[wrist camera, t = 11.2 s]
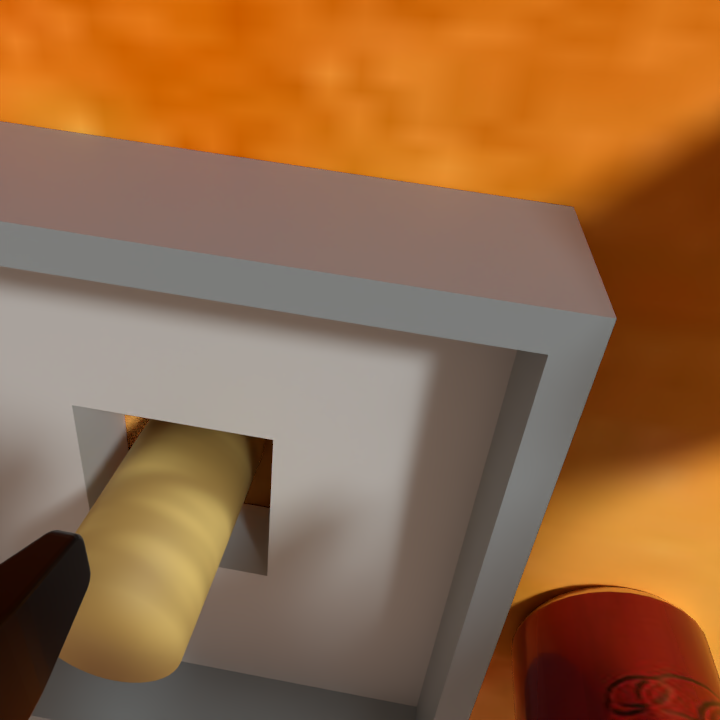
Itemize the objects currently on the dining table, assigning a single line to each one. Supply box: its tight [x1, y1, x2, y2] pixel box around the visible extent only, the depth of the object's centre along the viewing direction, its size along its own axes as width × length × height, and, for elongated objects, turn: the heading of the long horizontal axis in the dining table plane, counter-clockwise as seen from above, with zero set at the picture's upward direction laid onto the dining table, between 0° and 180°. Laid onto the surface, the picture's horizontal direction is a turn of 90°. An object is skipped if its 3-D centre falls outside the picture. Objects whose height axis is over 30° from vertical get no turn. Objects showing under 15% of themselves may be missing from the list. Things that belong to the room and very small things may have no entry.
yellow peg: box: [59, 419, 265, 683], centre depth 20 cm, size 4×4×8 cm
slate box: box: [0, 121, 617, 720], centre depth 21 cm, size 20×20×6 cm
